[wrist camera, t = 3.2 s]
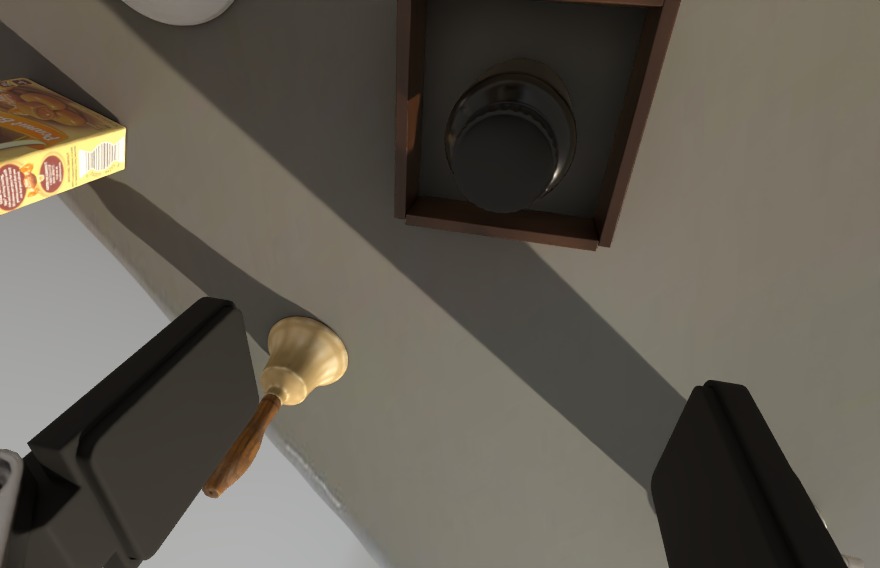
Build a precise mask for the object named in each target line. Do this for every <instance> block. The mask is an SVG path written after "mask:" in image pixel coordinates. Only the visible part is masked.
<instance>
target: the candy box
mask: <svg viewBox="0 0 880 568" xmlns="http://www.w3.org/2000/svg"><path fill="white" fill-rule="evenodd" d="M125 134H126V128H125V127H124V126H122V125H120V124H118V123H116V122H114V121H112V120H110V119H108V118H106V117H104V116H102V115H100V114H98V113H96V112H94V111H92V110H90V109H88V108H86V107H84V106H82V105H80V104H78V103H76V102H74V101H72V100H70V99H68V98H66V97H64V96H61V95H59V94H57V93H55V92H53V91H51V90H49V89H47V88H45V87H43V86H41V85H39V84H37V83H36V82H34V81H32V80H30V79H26V78H18V79H9V80H2V81H0V215H2V214H4V213H7V212H10V211H12V210H15V209H18V208H20V207H23V206H26V205H28V204H31V203H34V202H37V201H39V200H42V199H44V198H47V197H50V196H53V195H55V194H58V193H61V192H64V191H66V190H69V189H72V188H74V187H77V186H80V185H82V184H85V183H88V182H90V181H93V180H96V179H98V178H101V177H104V176H106V175H109V174H112V173H115V172H117V171H120V170H123V169H125Z"/></svg>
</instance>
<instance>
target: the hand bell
mask: <svg viewBox="0 0 880 568" xmlns="http://www.w3.org/2000/svg"><path fill="white" fill-rule="evenodd" d="M268 350H269V353H270V359H269V361H268V363H267V365H266V367H265V368H264V370H263V372H262V374H261V377H260V383H261V387H262V389H263V391H264V392H265V395H264V397H263V399H262V400H261V402H260V404H259V405H258V408H257V411H256V413H255V414H254V416H253V417H252V419H251V420H250V422H249V423H248V424H247V426H246V427H245V429H244V430H243V431H242V433H241V434H240V436H239V437H238V438H237V440H236V441H235V443H234V444H233V445H232V447H231V448H230V450H229V451H228V452H227V454H226V455H225V457H224V458H223V459H222V461H221V462H220V464H219V465H218V466H217V468H216V469H215V471H214V472H213V473H212V475H211V476H210V478H209V479H208V480H207V482H206V483H205V485H204V486H203V488H202V490H203V492H204V493H205V495H206V496H209V497H211V498H218V497H219V496H220V495H221V494H222V493H223V492H224V491H225V490H226V489H227V488H228V487H229V486H231V485H232V484H233V483H234V482H235V481H237V480H238V479H239V478H240V477H241V476H242V475H243V474H244V473H245V471H246V470H247V469H248V467H249V466H250V465H251V463H252V461H253V460H254V458H255V456H256V454H257V452H258V450H259V448H260V445H261V442H262V438H263V434H264V432H265V429H266V428H267V426H268V424H269V423H270V421H271V420H272V419H273V417H274V416H275V414H276V413H277V411H279V409H280V408H281V405H282V404H284V405H295V404H298V403H300V402H302V401H303V400H304V399H305V398H306V397H307V395H308V394H309V393H310V392H311V391H312V390H313V389H314V388H315V387H317V386H323V385H328V384H330V383H333V382H335V381H337V380H338V379H339V378H341V377H342V375H343V374H344V373H345V371H346V369H347V365H348V355H347V351H346V349H345V346H344V344H343V343H342V341H341V339H340V338H339V337H338V335H337V334H336V333H335V332H334V331H332V330H331V329H330V328H329V327H327V326H326V325H324V324H322V323H320V322H318V321H316V320H314V319H310V318H307V317H299V316H295V317H288V318H284V319H282V320H280V321H278V322H277V323H276V324H275V325H274V326H273V327H272V329H271V330H270V333H269V337H268Z"/></svg>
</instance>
